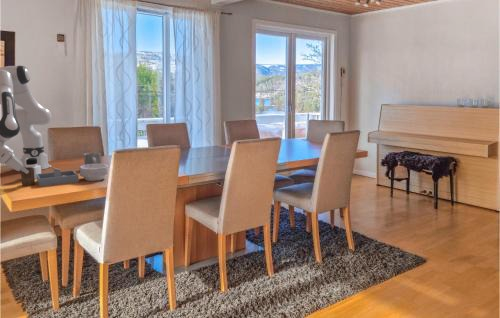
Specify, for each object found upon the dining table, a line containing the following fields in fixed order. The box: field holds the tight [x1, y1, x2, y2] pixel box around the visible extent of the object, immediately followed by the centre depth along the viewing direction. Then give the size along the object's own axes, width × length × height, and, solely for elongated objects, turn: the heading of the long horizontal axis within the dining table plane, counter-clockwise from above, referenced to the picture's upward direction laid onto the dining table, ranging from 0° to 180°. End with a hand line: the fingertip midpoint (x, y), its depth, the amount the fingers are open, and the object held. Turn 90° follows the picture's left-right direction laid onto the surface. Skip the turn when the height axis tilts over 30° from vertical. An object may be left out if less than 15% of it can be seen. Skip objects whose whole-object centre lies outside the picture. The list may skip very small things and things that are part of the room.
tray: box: [36, 166, 80, 188], centre depth 234 cm, size 15×20×8 cm
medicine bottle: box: [25, 158, 42, 180], centre depth 243 cm, size 7×7×12 cm
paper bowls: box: [79, 163, 109, 182], centre depth 241 cm, size 15×15×8 cm
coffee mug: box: [83, 152, 102, 165], centre depth 268 cm, size 13×10×10 cm
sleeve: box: [20, 167, 36, 187], centre depth 227 cm, size 6×6×9 cm
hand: (27, 171), depth 226 cm, fingers closed on sleeve, 6 cm apart
